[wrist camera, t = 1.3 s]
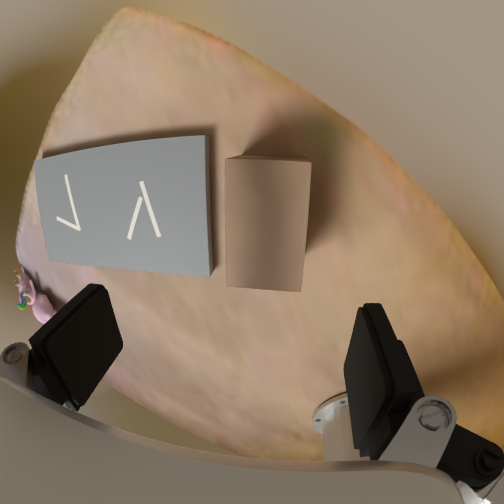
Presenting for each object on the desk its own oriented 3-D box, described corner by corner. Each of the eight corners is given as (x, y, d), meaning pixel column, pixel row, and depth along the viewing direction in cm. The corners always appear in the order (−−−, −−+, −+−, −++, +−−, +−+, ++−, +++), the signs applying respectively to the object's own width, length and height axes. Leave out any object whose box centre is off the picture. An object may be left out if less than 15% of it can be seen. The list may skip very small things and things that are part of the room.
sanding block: (305, 157, 25) (311, 162, 18) (299, 257, 29) (300, 291, 22) (241, 154, 26) (224, 159, 19) (240, 253, 29) (226, 286, 23)
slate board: (209, 135, 25) (204, 135, 24) (213, 270, 30) (209, 276, 29) (41, 159, 28) (33, 160, 26) (56, 257, 33) (49, 261, 32)
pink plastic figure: (24, 281, 38) (71, 341, 38) (0, 292, 33) (48, 358, 32) (27, 256, 36) (77, 321, 36) (1, 267, 31) (50, 338, 30)
